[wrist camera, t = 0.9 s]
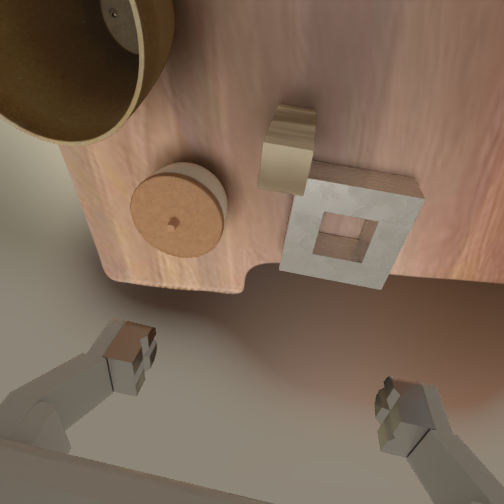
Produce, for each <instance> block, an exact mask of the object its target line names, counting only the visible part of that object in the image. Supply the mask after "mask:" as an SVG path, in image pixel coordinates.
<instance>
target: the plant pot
mask: <svg viewBox="0 0 504 504" xmlns="http://www.w3.org/2000/svg"><path fill="white" fill-rule="evenodd" d="M113 13H116V15H117V16H116V17H113V15H112V14H113ZM174 30H175V13H174V7H173V2H172V0H0V118H1V119H3V120H4V121H6V122H7V123H9V124H10V125H12V126H14V127H16V128H17V129H19V130H21V131H23V132H25V133H27V134H29V135H31V136H33V137H36V138H38V139H41V140H44V141H47V142H50V143H54V144H59V145H67V146H82V145H89V144H93V143H96V142H99V141H102V140H104V139H106V138H108V137H109V136H111V135H112V134H114V133H115V132H116V131H117V130H118V129H120V128H121V127H122V126H123V125H124V123H125V122H126V121H127V120H128V119H129V117H130V116H131V115H132V114H133V113H134V112H135V110H136V109H137V108H138V107H139V105H140V104H141V103H142V101H143V100H144V99H145V97H146V96H147V95H148V93H149V92H150V90H151V89H152V87H153V86H154V84H155V82H156V81H157V79H158V77H159V75H160V74H161V72H162V70H163V68H164V65H165V63H166V61H167V58H168V55H169V53H170V49H171V46H172V42H173V37H174Z"/></svg>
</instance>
